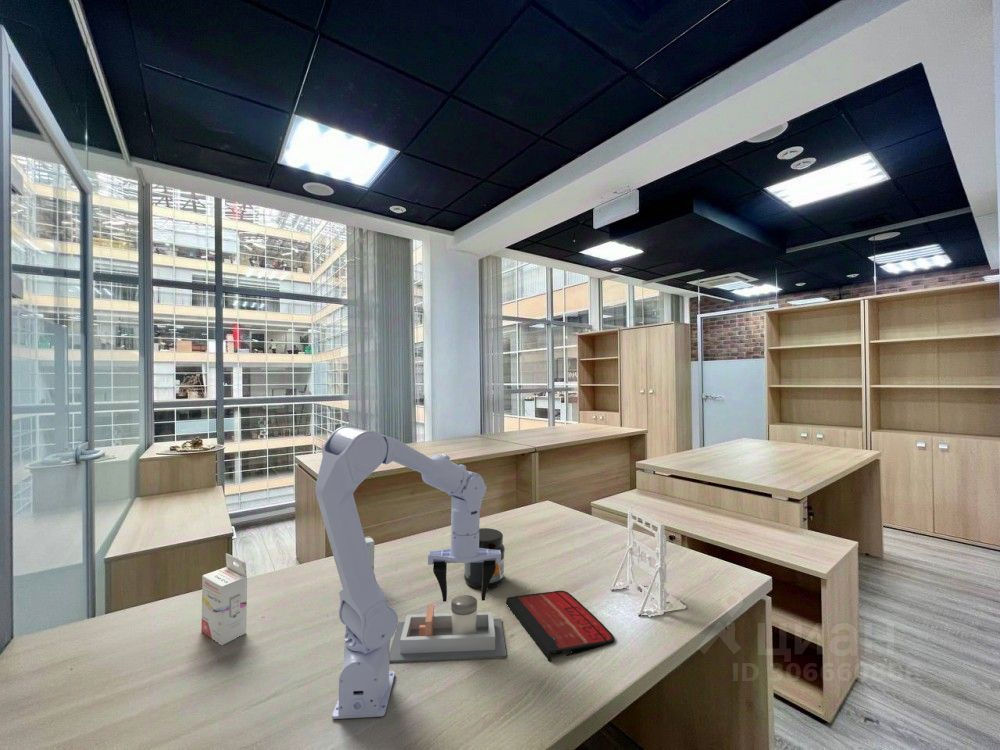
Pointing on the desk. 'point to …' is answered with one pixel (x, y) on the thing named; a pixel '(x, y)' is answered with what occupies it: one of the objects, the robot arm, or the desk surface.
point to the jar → (464, 615)
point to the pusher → (428, 623)
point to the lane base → (447, 640)
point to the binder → (559, 623)
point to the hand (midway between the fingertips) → (464, 598)
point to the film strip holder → (658, 555)
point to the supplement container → (475, 569)
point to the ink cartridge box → (225, 601)
